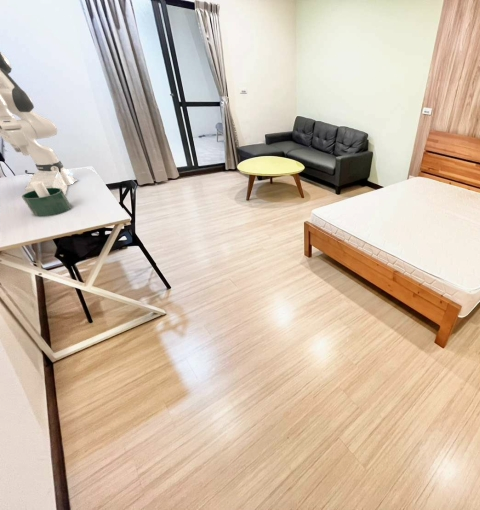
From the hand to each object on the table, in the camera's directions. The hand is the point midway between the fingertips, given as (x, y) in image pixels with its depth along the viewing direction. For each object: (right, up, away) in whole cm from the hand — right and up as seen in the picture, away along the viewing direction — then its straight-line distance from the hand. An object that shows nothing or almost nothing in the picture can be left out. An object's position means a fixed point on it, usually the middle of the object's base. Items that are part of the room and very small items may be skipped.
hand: (22, 153), depth 131 cm
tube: (-1, -25, +15) cm, 29 cm away
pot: (-1, -26, +15) cm, 30 cm away
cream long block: (-17, -15, +30) cm, 38 cm away
